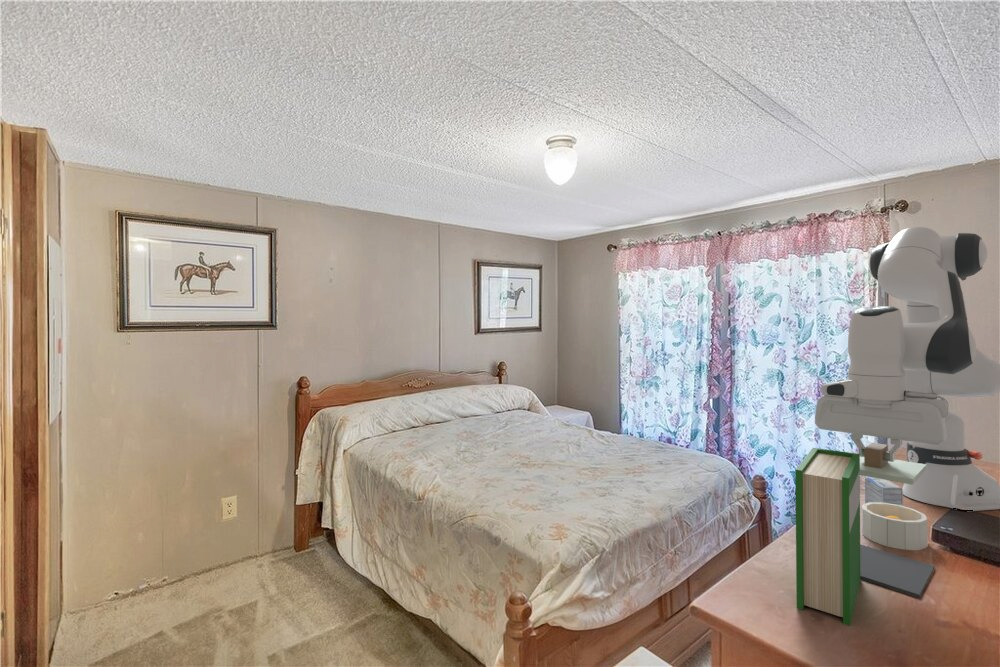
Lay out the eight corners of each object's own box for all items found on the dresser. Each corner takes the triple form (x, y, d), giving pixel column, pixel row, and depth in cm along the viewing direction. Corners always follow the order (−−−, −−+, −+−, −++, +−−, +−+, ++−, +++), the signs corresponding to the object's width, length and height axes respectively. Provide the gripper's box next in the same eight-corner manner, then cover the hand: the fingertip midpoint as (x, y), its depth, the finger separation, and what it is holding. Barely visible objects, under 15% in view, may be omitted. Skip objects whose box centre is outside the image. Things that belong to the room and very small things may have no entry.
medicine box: (904, 524, 113) (903, 488, 113) (882, 523, 114) (882, 487, 113) (884, 511, 121) (884, 477, 120) (864, 510, 121) (864, 476, 121)
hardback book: (850, 625, 76) (849, 478, 76) (796, 608, 81) (795, 469, 81) (860, 579, 89) (859, 453, 89) (814, 567, 94) (812, 447, 94)
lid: (846, 456, 102) (846, 435, 102) (926, 469, 92) (926, 446, 92) (827, 468, 94) (827, 446, 94) (912, 484, 84) (912, 459, 84)
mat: (843, 542, 104) (843, 539, 104) (934, 568, 93) (934, 565, 93) (820, 565, 95) (820, 562, 95) (919, 598, 83) (919, 594, 83)
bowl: (901, 528, 111) (901, 502, 111) (940, 550, 100) (940, 522, 100) (851, 527, 112) (851, 502, 112) (884, 549, 101) (884, 521, 101)
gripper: (951, 392, 87) (951, 466, 87) (821, 383, 103) (822, 446, 103) (945, 396, 83) (945, 474, 83) (811, 386, 99) (812, 451, 99)
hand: (876, 458), depth 93 cm, fingers closed on lid, 2 cm apart
